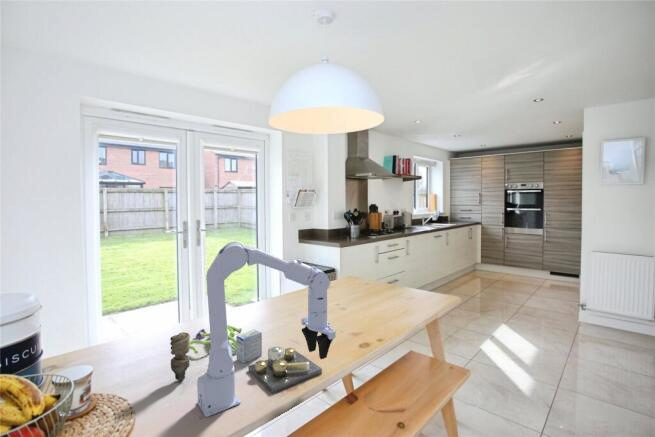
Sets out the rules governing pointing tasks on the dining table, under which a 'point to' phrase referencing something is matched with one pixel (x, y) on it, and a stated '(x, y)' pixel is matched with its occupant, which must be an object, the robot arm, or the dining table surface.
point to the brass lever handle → (288, 367)
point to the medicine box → (249, 345)
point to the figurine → (203, 334)
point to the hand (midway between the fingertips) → (317, 354)
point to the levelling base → (276, 383)
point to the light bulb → (180, 354)
